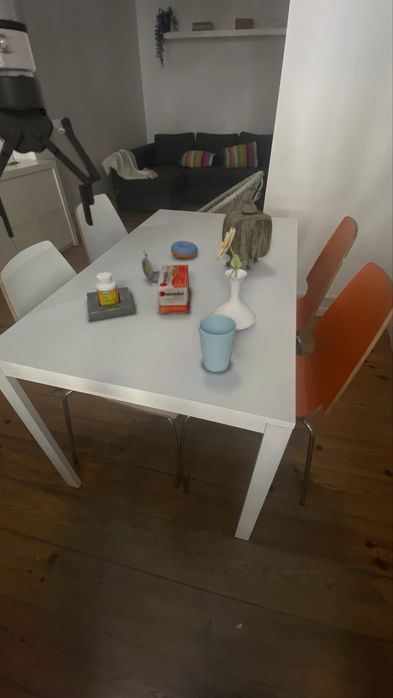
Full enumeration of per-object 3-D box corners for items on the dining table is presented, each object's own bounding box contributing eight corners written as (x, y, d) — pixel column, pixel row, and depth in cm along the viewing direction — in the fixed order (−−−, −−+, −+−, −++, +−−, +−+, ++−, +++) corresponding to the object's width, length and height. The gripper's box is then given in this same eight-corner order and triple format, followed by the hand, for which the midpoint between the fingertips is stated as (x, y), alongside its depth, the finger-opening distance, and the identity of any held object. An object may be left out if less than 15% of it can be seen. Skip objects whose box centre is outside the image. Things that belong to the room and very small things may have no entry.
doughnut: (202, 253, 120) (202, 241, 118) (188, 262, 114) (187, 250, 111) (181, 249, 125) (180, 237, 122) (166, 257, 118) (165, 245, 115)
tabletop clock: (257, 258, 115) (265, 182, 100) (270, 268, 109) (281, 188, 93) (220, 265, 112) (223, 187, 96) (232, 275, 105) (236, 193, 90)
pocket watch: (172, 275, 106) (170, 246, 99) (159, 286, 100) (156, 255, 93) (151, 272, 108) (147, 242, 102) (137, 282, 102) (133, 252, 96)
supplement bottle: (103, 313, 87) (96, 281, 81) (99, 305, 91) (91, 273, 85) (122, 308, 89) (116, 276, 83) (117, 300, 93) (111, 269, 87)
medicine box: (163, 288, 98) (161, 264, 94) (189, 288, 98) (188, 263, 93) (159, 314, 87) (156, 287, 82) (188, 313, 86) (187, 287, 82)
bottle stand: (90, 321, 84) (88, 313, 83) (88, 300, 93) (86, 292, 92) (134, 313, 87) (133, 305, 86) (128, 294, 96) (127, 286, 94)
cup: (228, 350, 73) (230, 312, 67) (238, 372, 67) (241, 332, 61) (196, 355, 72) (195, 316, 66) (203, 378, 66) (202, 337, 60)
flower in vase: (221, 307, 89) (225, 213, 73) (261, 316, 85) (273, 219, 69) (200, 331, 80) (199, 230, 64) (243, 343, 76) (252, 238, 60)
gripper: (-105, 70, 37) (-27, 247, 50) (104, 76, 47) (124, 224, 60) (-95, 74, 43) (-26, 234, 56) (91, 79, 52) (112, 215, 65)
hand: (52, 229), depth 58 cm, fingers open, 13 cm apart
